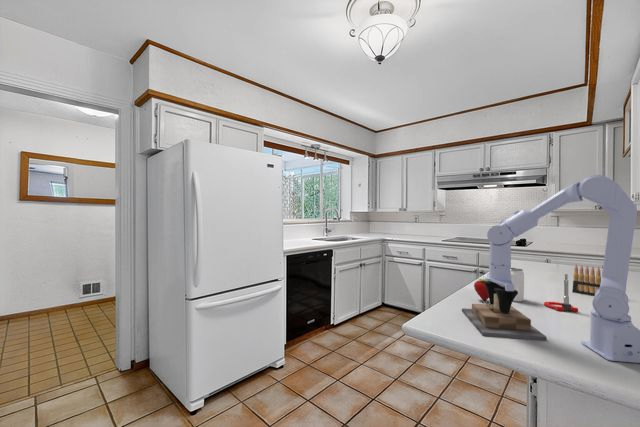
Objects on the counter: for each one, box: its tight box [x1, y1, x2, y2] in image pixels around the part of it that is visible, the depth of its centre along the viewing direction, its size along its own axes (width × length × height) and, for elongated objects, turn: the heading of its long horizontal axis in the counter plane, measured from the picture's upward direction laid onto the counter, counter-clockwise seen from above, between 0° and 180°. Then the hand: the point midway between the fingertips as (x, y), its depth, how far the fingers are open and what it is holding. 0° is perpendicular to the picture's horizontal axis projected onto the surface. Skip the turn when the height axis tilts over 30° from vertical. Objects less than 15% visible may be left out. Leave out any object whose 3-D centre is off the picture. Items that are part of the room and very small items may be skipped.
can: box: [511, 267, 525, 303], centre depth 116 cm, size 6×6×12 cm
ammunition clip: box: [571, 264, 602, 297], centre depth 122 cm, size 11×2×12 cm, turn 37°
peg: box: [493, 294, 505, 314], centre depth 91 cm, size 3×3×8 cm
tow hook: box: [543, 273, 579, 313], centre depth 107 cm, size 8×13×9 cm
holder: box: [461, 303, 548, 341], centre depth 91 cm, size 20×16×4 cm
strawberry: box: [473, 278, 489, 302], centre depth 114 cm, size 6×8×10 cm
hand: (499, 308), depth 91 cm, fingers open, 7 cm apart
